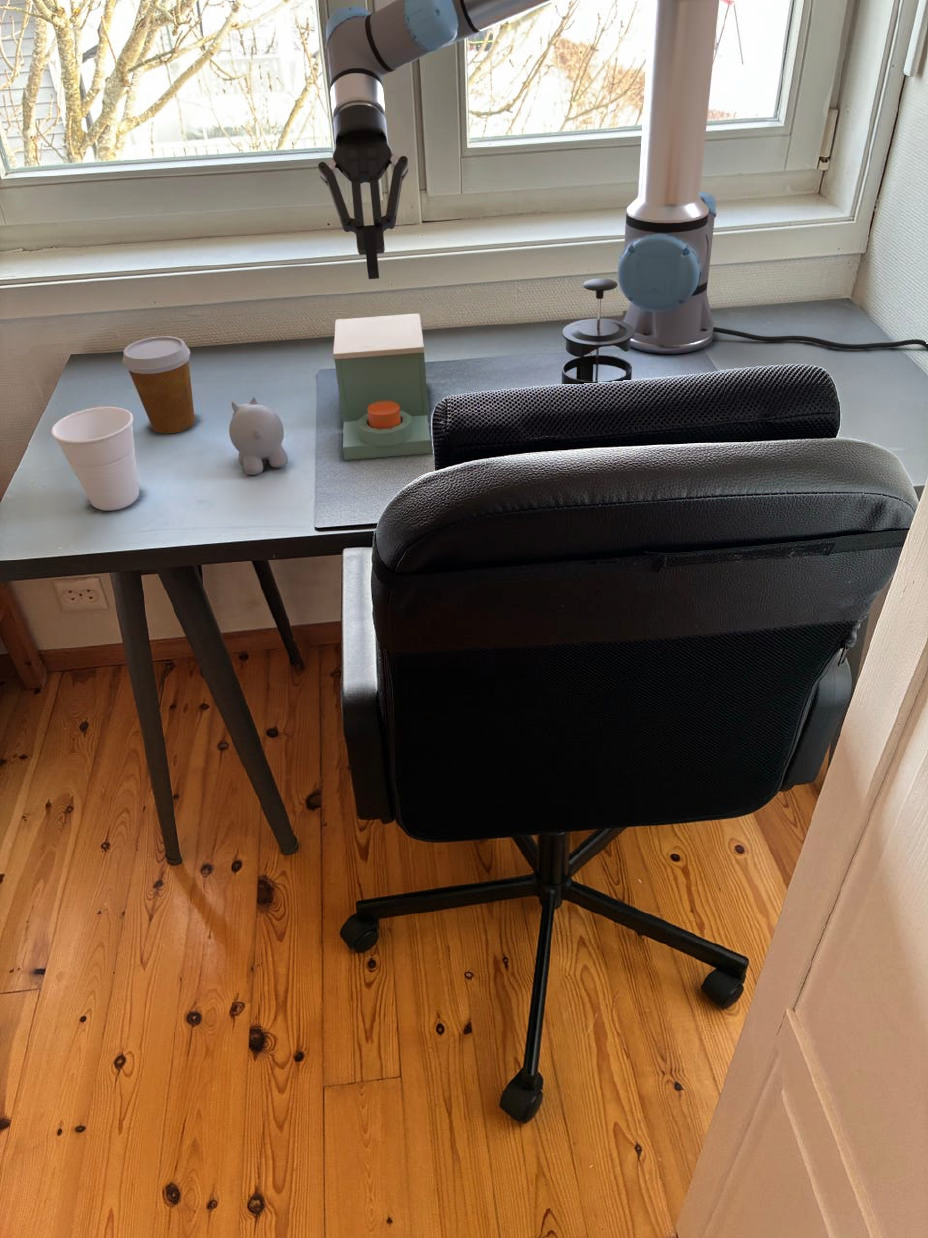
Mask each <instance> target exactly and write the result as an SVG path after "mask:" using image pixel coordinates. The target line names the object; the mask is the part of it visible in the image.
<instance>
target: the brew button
mask: <svg viewBox="0 0 928 1238" xmlns="http://www.w3.org/2000/svg"><path fill="white" fill-rule="evenodd" d="M367 410H368V419H369V425H370V427H372V428H376V429H388V428H393V427H395V426H398V425H399V424H400V423H401V418H400V408H399V405H398V404H397V403H395V402H391V401H380V402H376V403H373V404H371V405H370V406H369V407H368V409H367Z"/></svg>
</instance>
